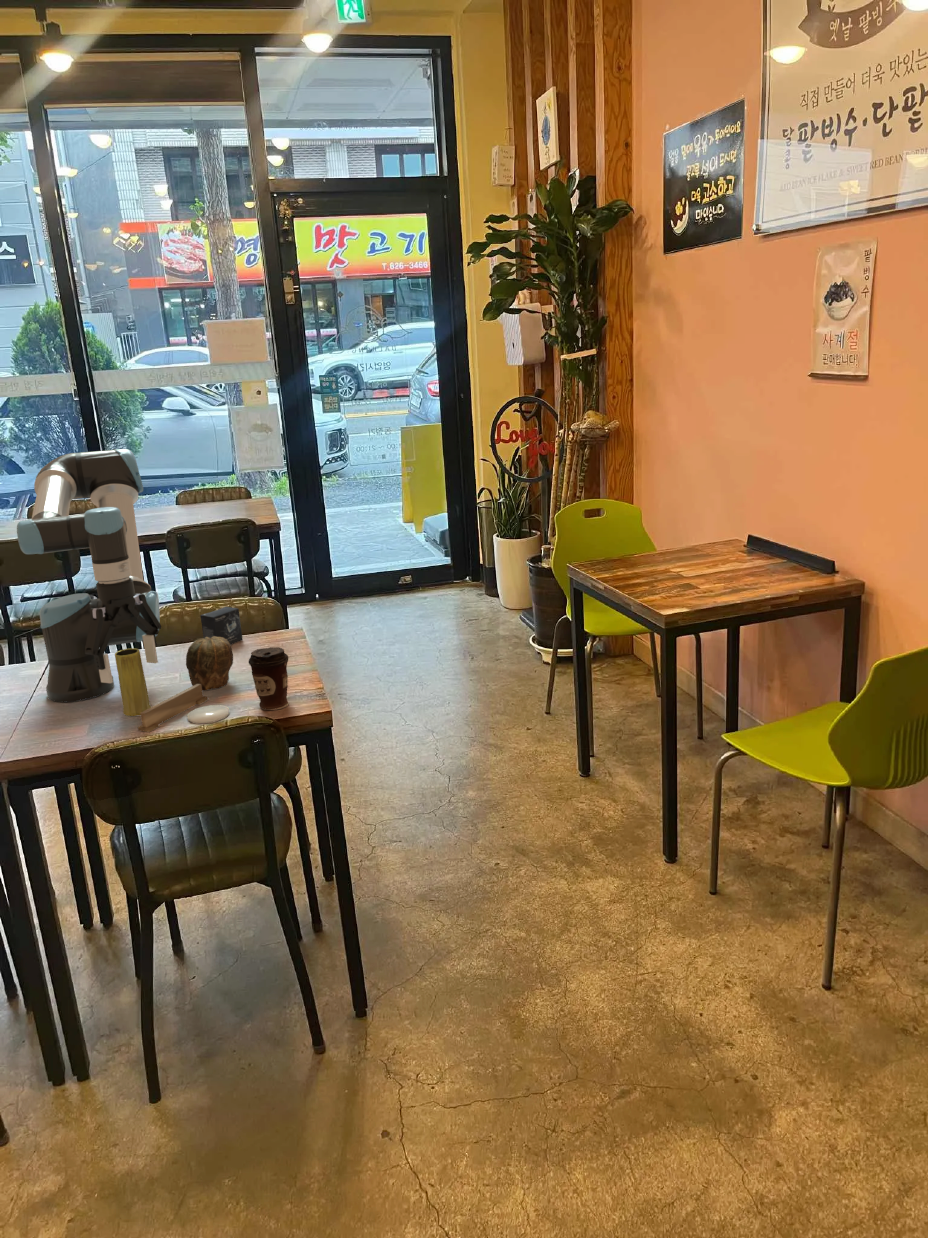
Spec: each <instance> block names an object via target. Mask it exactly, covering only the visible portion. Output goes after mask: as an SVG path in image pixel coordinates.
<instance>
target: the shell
mask: <svg viewBox="0 0 928 1238" xmlns="http://www.w3.org/2000/svg"><path fill="white" fill-rule="evenodd" d="M187 649H188V650H187V652H186V656H185V666H186V669H187V671H188V677H189V679H190V684H191V687H192V686H194V685H196V684H201V686H202V692H203V691H210V690H217V689H222V688H223V687H225V686H226V685H227V684H228V683H229V680H230V676H229V673H230V670H231V667H232V666H233V663H234V653H233V647H232V644H231V645H230V643H229V642H228V640H226V639H225V638H223V637H216V636H213V637H212V638H209V637H205V638H203V637H202V638H197V639H196V640H194V641H193V642H192V643H191V644H190V646H188V648H187Z"/></svg>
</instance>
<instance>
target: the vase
mask: <svg viewBox="0 0 928 1238" xmlns="http://www.w3.org/2000/svg"><path fill="white" fill-rule="evenodd" d="M114 658H115V665H116V669H117V670H116V671H117V675H118V683H119V691H120V695H121V703H122V714H123V715H124V716H125V717H138V716H141V715H140V713H141V712H143V711H145V710H147V709H149V708H151V707H152V706H151V703H150V696H149V692H148V687H147V681H146V677H145V673H144V667H143V662H142V657H141V652H140V650H139V648H124V649H120V650H117V651H116V652H115V653H114Z"/></svg>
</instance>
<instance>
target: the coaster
mask: <svg viewBox="0 0 928 1238" xmlns="http://www.w3.org/2000/svg"><path fill="white" fill-rule="evenodd" d="M229 715H230V708H229V707H228V706H225V705H220V704H211V705H205V706H200V707H198V708H194V710H190V712H188V714H187V715H186V717H187V721H188V722H189V723H193V724H196V725H197V724H203V725H204V724H211V723H216V722H218V721H221V720H223V719H225V718H227V717H228V716H229Z"/></svg>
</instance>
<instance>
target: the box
mask: <svg viewBox="0 0 928 1238" xmlns="http://www.w3.org/2000/svg"><path fill="white" fill-rule="evenodd" d="M199 617H200V623H201V630H202V636H203V637H202V639H204V638H205V637H209V638H212V637H213V636H216V637H223V638H225V639H226V640H228V642H229V643H230V645H231V646H232V645H233V644H237V643H239V642H241V641H243V632H242V625H241V618H240V608H238V607H231V606H224V607H221V608H219V609H216V610H213V611H211V612H210V611H209V612H206V613H203V614H200V615H199Z"/></svg>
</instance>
